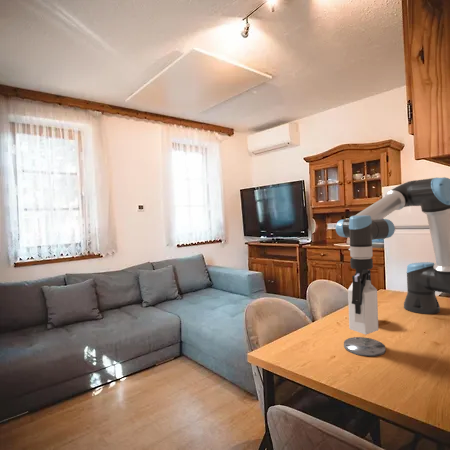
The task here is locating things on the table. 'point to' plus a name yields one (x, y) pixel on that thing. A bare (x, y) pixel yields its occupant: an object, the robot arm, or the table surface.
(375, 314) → the milk carton
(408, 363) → the table surface
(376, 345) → the duct flange
